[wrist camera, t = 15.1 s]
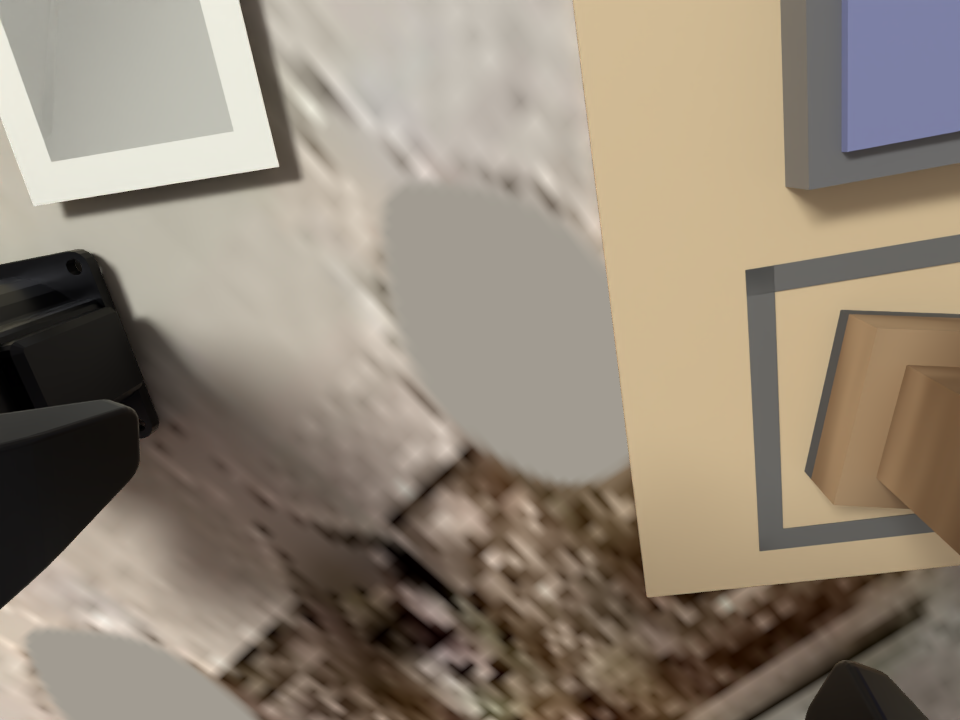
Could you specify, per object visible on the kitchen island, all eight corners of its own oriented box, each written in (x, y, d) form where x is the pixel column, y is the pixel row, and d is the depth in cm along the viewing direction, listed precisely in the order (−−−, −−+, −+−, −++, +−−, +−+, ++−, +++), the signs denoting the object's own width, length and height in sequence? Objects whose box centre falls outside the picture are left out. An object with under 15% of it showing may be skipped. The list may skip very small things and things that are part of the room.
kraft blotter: (645, 593, 22) (647, 598, 22) (534, -311, 14) (534, -319, 14) (1131, 543, 20) (1137, 547, 20) (1326, -545, 12) (1343, -559, 12)
